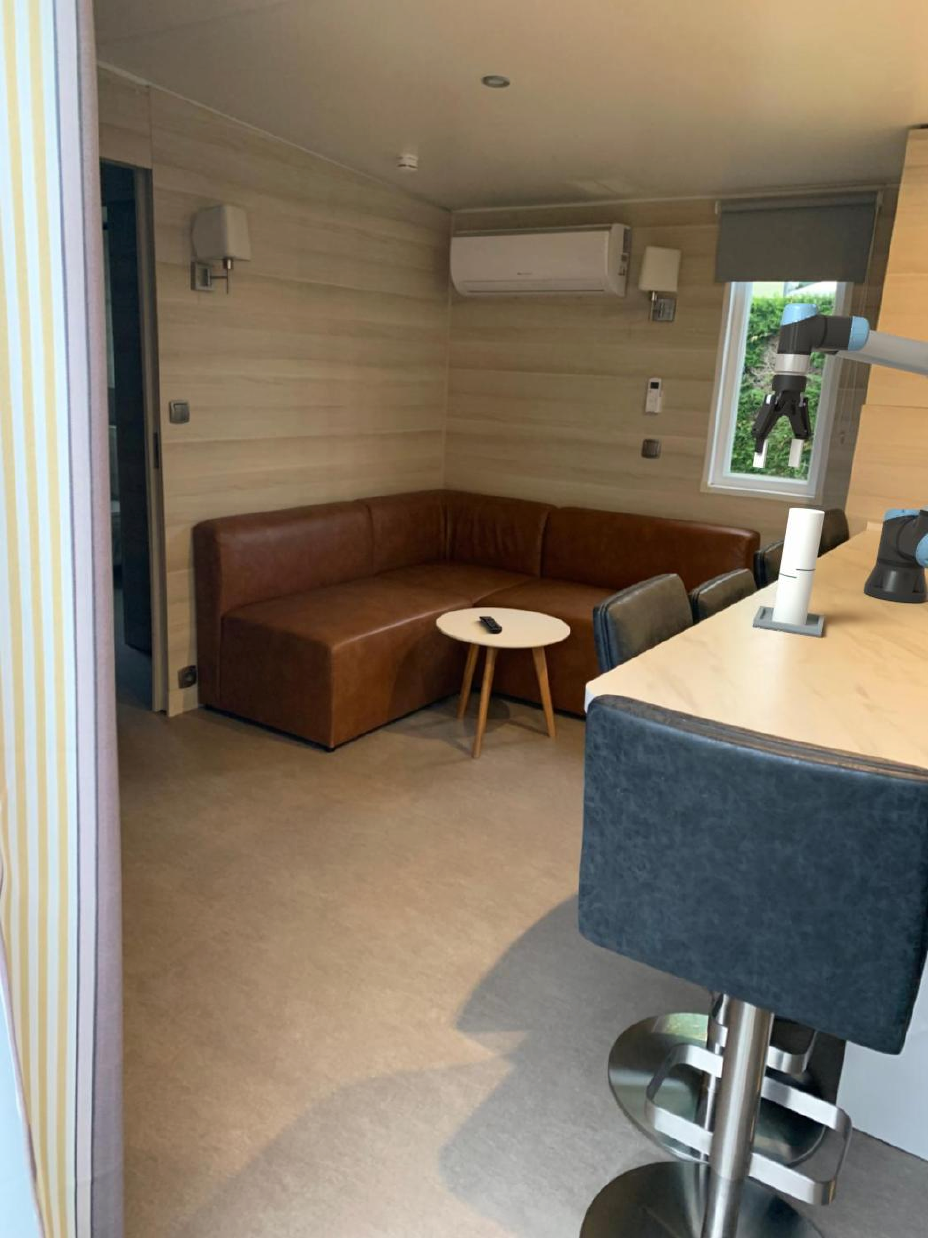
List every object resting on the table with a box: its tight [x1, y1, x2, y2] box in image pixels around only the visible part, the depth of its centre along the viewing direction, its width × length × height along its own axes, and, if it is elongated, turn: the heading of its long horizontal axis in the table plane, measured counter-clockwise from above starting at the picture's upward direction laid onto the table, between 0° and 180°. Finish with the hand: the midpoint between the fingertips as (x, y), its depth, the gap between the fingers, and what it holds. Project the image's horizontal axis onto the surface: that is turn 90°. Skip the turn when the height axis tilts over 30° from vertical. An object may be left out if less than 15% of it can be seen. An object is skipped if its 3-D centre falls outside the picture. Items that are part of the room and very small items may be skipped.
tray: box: [752, 605, 825, 638], centre depth 198 cm, size 14×14×2 cm
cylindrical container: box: [772, 507, 825, 626], centre depth 195 cm, size 7×7×25 cm
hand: (776, 467), depth 211 cm, fingers open, 13 cm apart
